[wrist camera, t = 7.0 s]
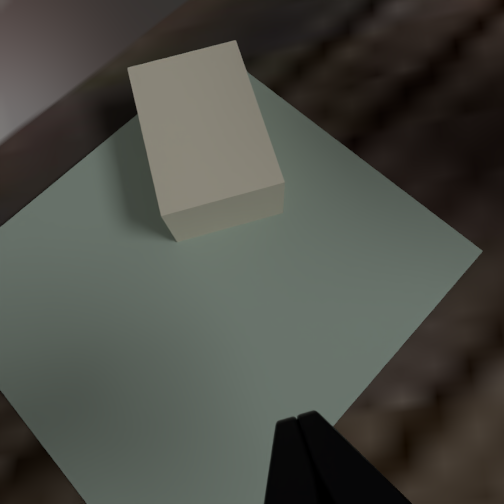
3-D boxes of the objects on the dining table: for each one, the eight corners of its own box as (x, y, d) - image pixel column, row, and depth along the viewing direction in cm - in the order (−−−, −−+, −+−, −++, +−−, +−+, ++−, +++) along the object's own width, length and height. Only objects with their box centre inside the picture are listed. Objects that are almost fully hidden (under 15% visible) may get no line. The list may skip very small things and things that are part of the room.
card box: (284, 182, 20) (235, 40, 23) (161, 216, 20) (127, 68, 22) (283, 212, 23) (240, 85, 26) (177, 242, 23) (146, 110, 26)
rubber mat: (478, 254, 22) (482, 251, 22) (174, 608, 18) (171, 614, 17) (217, 54, 27) (216, 48, 27) (-69, 292, 23) (-76, 290, 23)
